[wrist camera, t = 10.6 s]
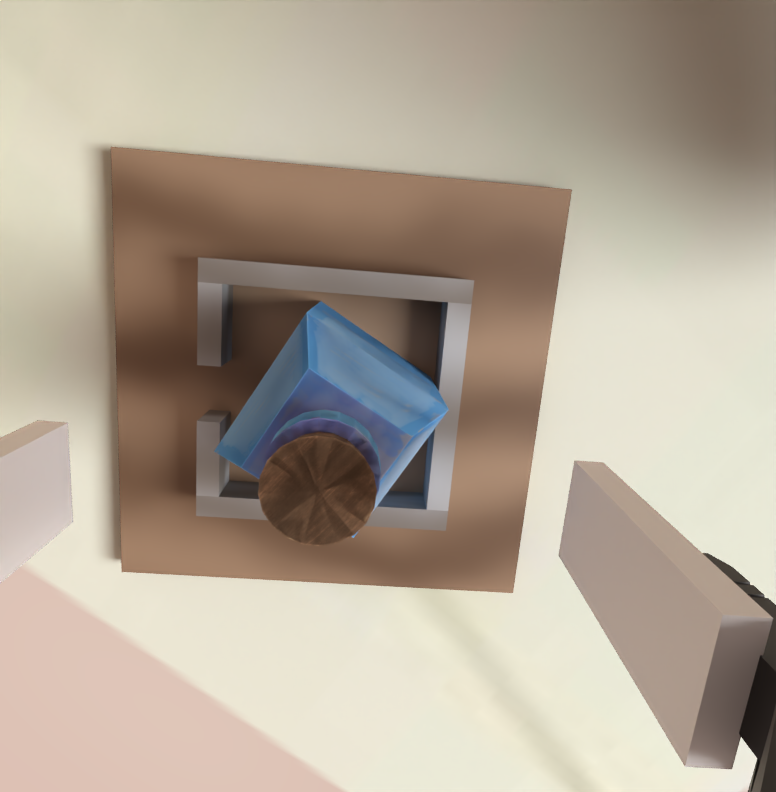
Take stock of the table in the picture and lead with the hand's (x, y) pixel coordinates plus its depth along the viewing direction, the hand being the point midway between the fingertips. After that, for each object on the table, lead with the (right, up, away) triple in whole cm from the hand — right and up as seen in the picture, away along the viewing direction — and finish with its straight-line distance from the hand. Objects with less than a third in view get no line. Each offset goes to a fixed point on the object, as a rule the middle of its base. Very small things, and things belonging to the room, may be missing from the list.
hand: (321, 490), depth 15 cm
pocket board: (-1, +3, +13) cm, 13 cm away
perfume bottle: (-1, +3, +12) cm, 13 cm away
